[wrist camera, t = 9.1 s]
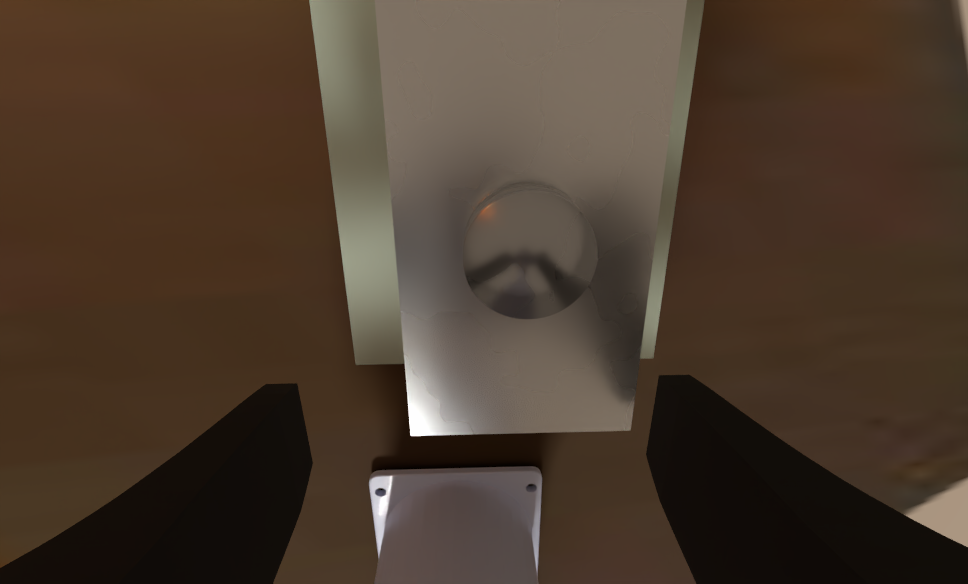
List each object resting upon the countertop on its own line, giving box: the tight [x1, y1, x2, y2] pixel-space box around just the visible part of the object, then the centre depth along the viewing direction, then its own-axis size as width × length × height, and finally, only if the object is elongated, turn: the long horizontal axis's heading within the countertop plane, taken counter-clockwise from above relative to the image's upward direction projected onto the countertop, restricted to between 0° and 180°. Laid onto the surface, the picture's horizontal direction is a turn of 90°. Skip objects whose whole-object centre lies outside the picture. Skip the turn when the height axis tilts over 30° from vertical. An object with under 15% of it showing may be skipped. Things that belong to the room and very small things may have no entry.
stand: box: [309, 0, 704, 365], centre depth 17 cm, size 12×10×4 cm
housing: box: [375, 0, 687, 436], centre depth 12 cm, size 9×5×6 cm, turn 1°
